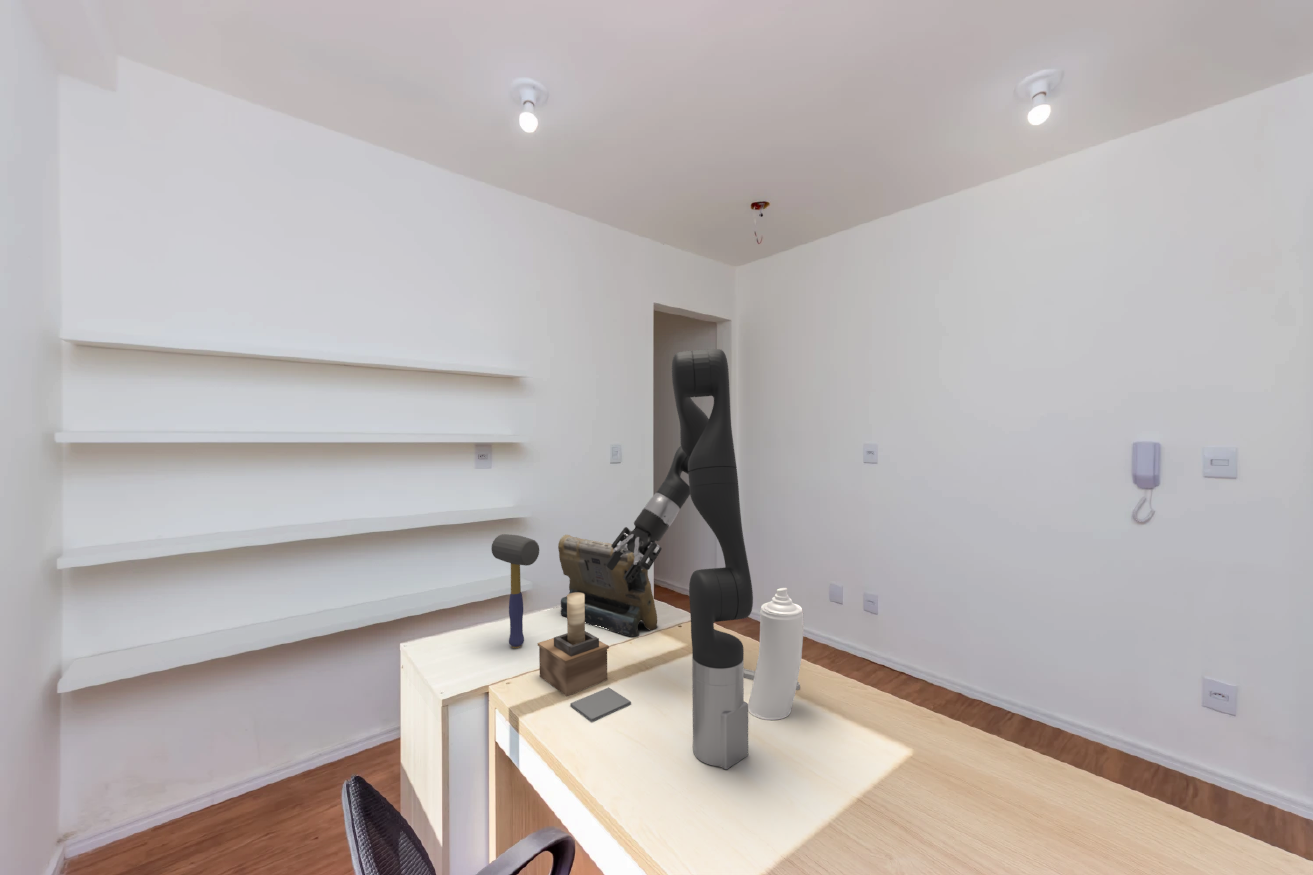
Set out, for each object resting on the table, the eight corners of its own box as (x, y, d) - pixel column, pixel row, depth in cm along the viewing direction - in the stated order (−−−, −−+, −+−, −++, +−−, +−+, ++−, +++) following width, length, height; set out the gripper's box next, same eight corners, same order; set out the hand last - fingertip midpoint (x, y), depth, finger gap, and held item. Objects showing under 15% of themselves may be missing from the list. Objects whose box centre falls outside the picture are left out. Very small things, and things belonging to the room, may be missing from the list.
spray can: (760, 688, 118) (760, 577, 117) (808, 700, 112) (808, 584, 112) (741, 712, 108) (741, 592, 107) (792, 727, 102) (792, 601, 102)
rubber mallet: (490, 645, 141) (488, 535, 140) (512, 636, 147) (511, 530, 146) (520, 657, 134) (519, 541, 133) (543, 647, 140) (541, 535, 139)
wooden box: (609, 679, 122) (608, 637, 122) (566, 697, 114) (565, 651, 114) (579, 661, 131) (579, 622, 131) (537, 676, 124) (537, 634, 124)
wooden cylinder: (588, 646, 121) (587, 595, 121) (573, 651, 119) (573, 599, 118) (579, 641, 124) (578, 591, 124) (564, 646, 122) (563, 594, 121)
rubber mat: (631, 704, 111) (631, 701, 111) (591, 722, 105) (591, 719, 105) (608, 689, 117) (608, 687, 117) (570, 705, 111) (570, 703, 111)
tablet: (664, 623, 156) (664, 540, 155) (638, 640, 144) (638, 550, 143) (580, 604, 173) (579, 529, 172) (550, 617, 161) (549, 537, 161)
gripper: (631, 501, 129) (592, 556, 125) (664, 515, 117) (621, 577, 113) (650, 517, 133) (612, 571, 128) (684, 533, 121) (643, 593, 117)
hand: (617, 574), depth 121 cm, fingers open, 8 cm apart
